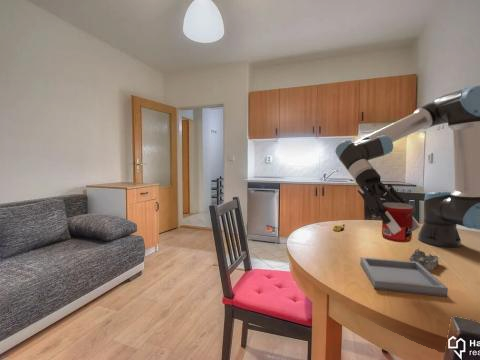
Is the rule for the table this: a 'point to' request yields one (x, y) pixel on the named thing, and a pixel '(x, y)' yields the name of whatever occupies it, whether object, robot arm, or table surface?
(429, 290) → the tray
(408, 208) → the canned food
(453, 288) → the table surface
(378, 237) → the table surface
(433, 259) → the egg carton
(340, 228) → the yellow walkie talkie
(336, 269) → the table surface
